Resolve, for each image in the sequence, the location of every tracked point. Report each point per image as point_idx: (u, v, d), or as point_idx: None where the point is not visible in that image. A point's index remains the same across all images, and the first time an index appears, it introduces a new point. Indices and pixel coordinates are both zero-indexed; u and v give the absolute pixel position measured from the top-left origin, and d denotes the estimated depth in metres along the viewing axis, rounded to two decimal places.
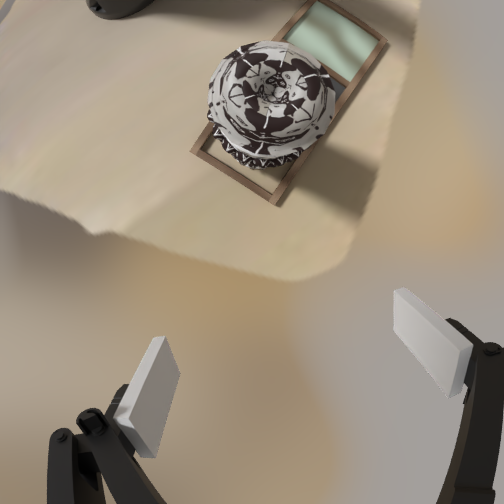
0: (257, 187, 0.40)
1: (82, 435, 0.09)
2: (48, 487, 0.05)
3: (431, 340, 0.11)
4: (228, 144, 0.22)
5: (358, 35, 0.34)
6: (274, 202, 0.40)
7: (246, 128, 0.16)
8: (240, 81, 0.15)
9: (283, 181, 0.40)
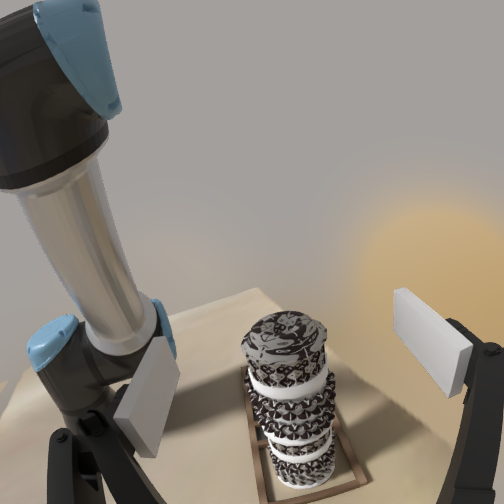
0: (341, 485, 0.27)
1: (82, 435, 0.09)
2: (47, 487, 0.05)
3: (431, 340, 0.11)
4: (288, 402, 0.24)
5: None
6: (364, 480, 0.27)
7: (288, 345, 0.23)
8: (262, 333, 0.25)
9: (353, 465, 0.30)
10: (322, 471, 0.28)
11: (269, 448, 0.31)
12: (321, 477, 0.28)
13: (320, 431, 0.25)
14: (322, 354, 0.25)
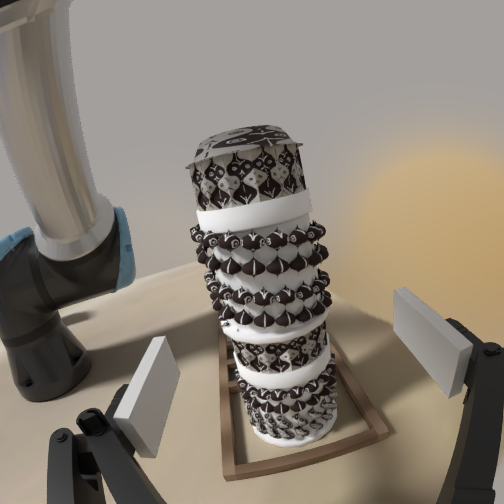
0: (349, 438, 0.19)
1: (82, 435, 0.09)
2: (47, 487, 0.05)
3: (431, 340, 0.11)
4: (249, 234, 0.16)
5: None
6: (385, 429, 0.19)
7: (244, 133, 0.16)
8: None
9: (365, 409, 0.22)
10: (319, 413, 0.21)
11: (237, 373, 0.23)
12: (318, 425, 0.21)
13: (309, 314, 0.18)
14: (298, 166, 0.18)
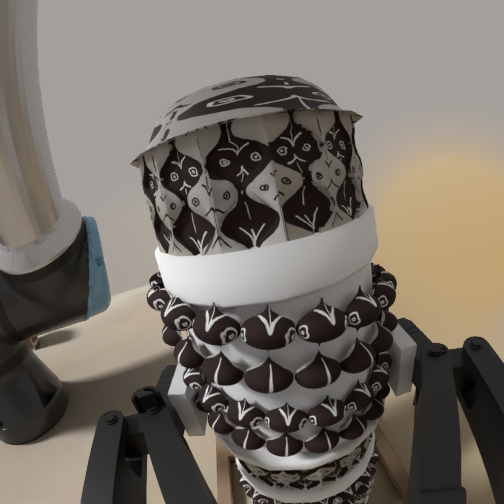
0: None
1: (132, 416, 0.10)
2: (87, 470, 0.07)
3: None
4: (260, 316, 0.07)
5: None
6: None
7: (247, 85, 0.07)
8: None
9: (404, 491, 0.13)
10: None
11: None
12: None
13: (361, 429, 0.09)
14: (358, 161, 0.08)
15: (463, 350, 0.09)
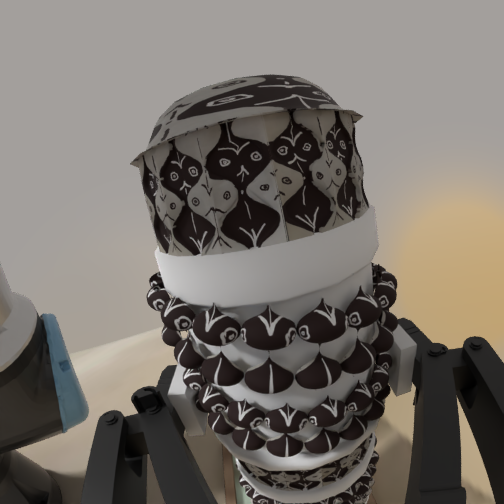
0: None
1: (132, 417, 0.10)
2: (87, 470, 0.07)
3: None
4: (261, 316, 0.07)
5: None
6: None
7: (248, 85, 0.07)
8: None
9: None
10: None
11: None
12: None
13: (361, 429, 0.09)
14: (358, 161, 0.08)
15: (463, 350, 0.09)
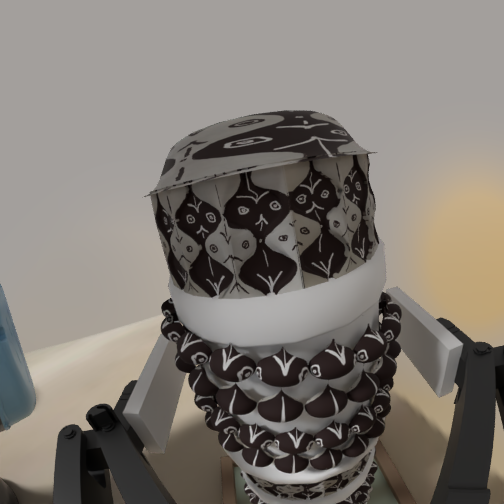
0: None
1: (91, 431, 0.09)
2: (54, 483, 0.06)
3: (422, 339, 0.11)
4: (276, 357, 0.07)
5: None
6: None
7: (266, 125, 0.07)
8: None
9: None
10: None
11: None
12: None
13: (363, 447, 0.09)
14: (372, 200, 0.08)
15: None
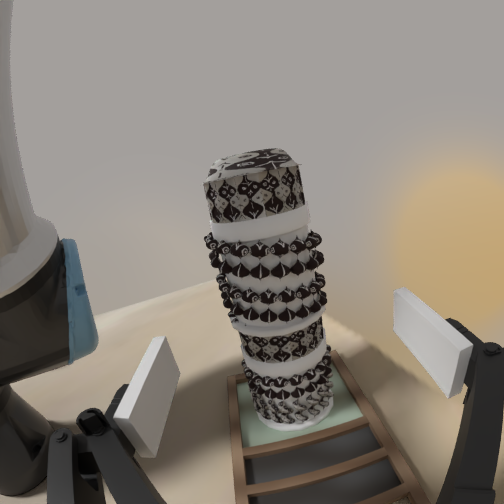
0: None
1: (82, 435, 0.09)
2: (47, 487, 0.05)
3: (431, 340, 0.11)
4: (256, 244, 0.20)
5: None
6: None
7: (252, 157, 0.19)
8: None
9: None
10: (316, 399, 0.24)
11: (243, 363, 0.27)
12: (315, 411, 0.24)
13: (306, 311, 0.21)
14: (298, 185, 0.21)
15: None
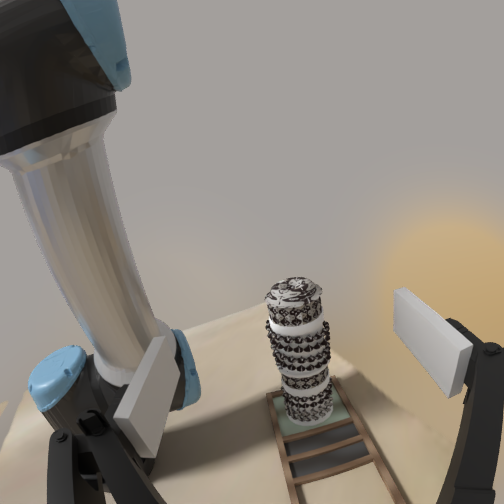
0: None
1: (82, 435, 0.09)
2: (47, 487, 0.05)
3: (431, 340, 0.11)
4: (297, 337, 0.38)
5: None
6: None
7: (297, 295, 0.37)
8: (279, 289, 0.39)
9: (396, 498, 0.23)
10: (323, 407, 0.42)
11: (282, 388, 0.45)
12: (322, 414, 0.42)
13: (320, 365, 0.39)
14: (319, 304, 0.39)
15: None
